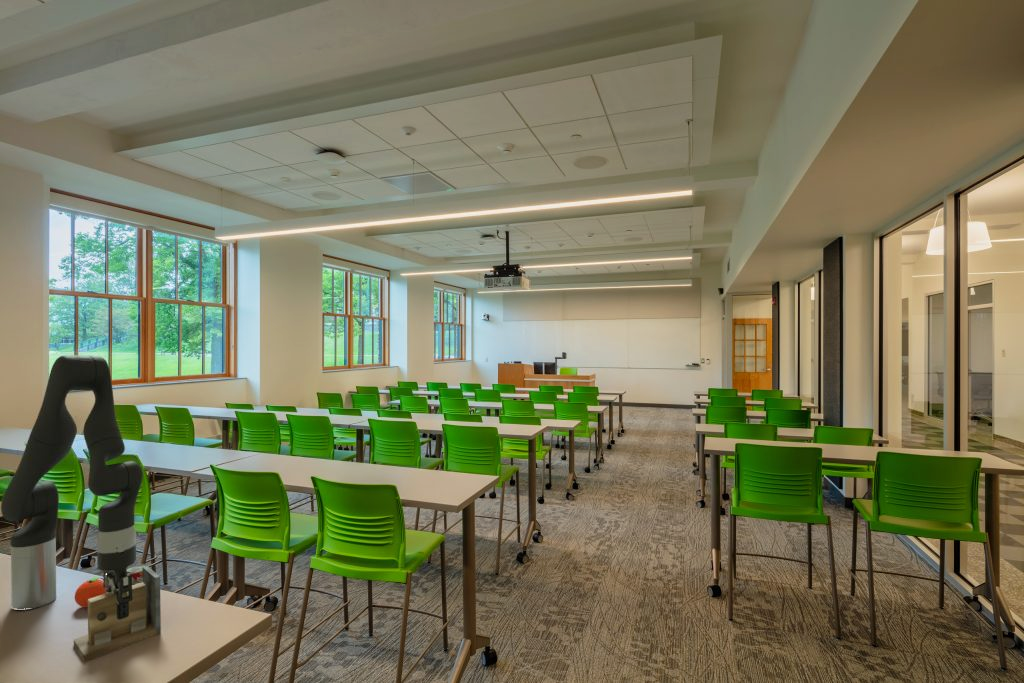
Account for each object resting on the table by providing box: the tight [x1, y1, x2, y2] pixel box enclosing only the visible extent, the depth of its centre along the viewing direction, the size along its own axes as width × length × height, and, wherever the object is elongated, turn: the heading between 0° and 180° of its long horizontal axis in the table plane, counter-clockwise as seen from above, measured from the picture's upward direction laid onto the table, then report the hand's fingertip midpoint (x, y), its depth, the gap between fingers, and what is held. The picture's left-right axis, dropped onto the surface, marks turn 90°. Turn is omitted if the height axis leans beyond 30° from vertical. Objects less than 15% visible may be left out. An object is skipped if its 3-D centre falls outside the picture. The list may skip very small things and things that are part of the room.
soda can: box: [126, 563, 150, 585], centre depth 139 cm, size 7×7×12 cm
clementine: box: [74, 577, 106, 608], centre depth 144 cm, size 8×7×7 cm
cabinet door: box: [87, 582, 146, 645], centre depth 127 cm, size 4×11×10 cm, turn 141°
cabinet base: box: [73, 565, 162, 663], centre depth 127 cm, size 10×15×14 cm, turn 141°
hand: (117, 612), depth 127 cm, fingers open, 8 cm apart
